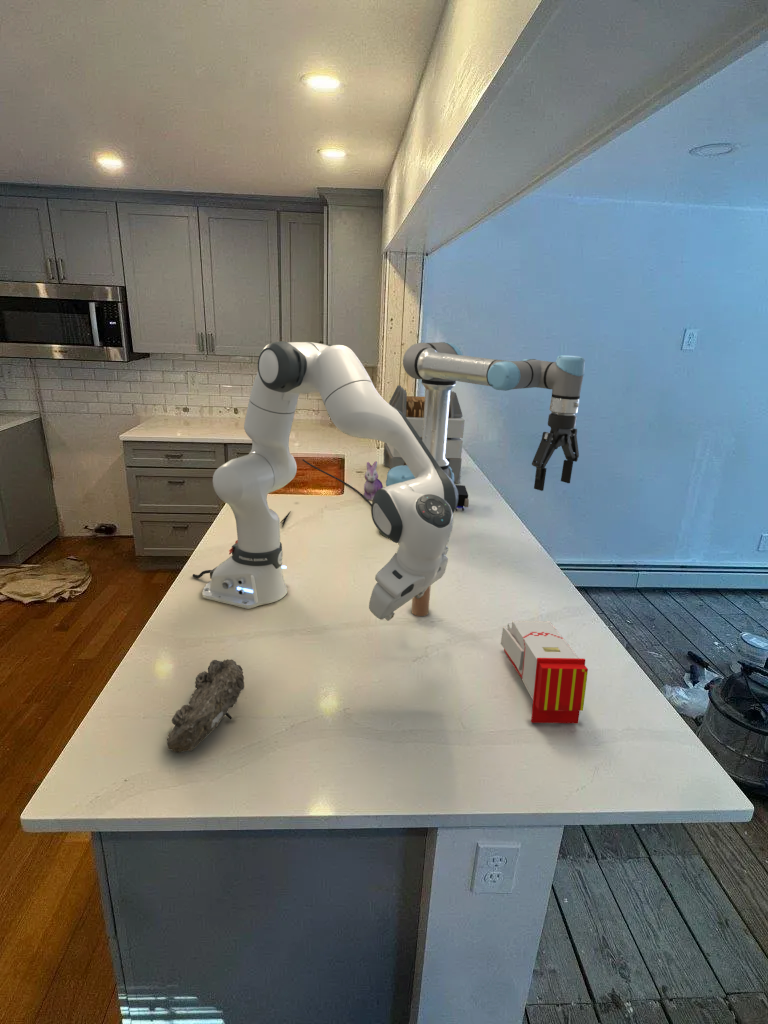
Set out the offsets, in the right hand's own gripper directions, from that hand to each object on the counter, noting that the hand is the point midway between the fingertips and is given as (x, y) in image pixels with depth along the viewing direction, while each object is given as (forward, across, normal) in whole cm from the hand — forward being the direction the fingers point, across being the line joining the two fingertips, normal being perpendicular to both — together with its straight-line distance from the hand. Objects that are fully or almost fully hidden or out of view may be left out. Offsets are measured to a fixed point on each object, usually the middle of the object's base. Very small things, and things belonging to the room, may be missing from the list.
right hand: (552, 485), depth 166 cm
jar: (+28, -47, +5) cm, 55 cm away
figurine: (+28, +4, +85) cm, 90 cm away
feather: (+28, -36, +86) cm, 98 cm away
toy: (+28, -47, -32) cm, 64 cm away
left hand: (+14, -66, -9) cm, 68 cm away
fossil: (+28, -107, 0) cm, 110 cm away
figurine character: (+28, +25, +56) cm, 67 cm away
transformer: (+28, +46, +101) cm, 115 cm away
